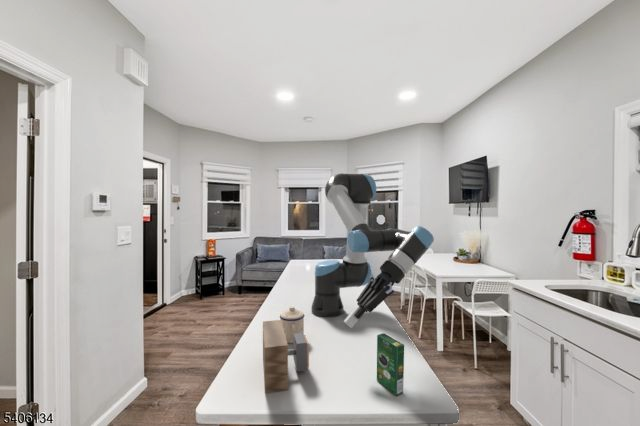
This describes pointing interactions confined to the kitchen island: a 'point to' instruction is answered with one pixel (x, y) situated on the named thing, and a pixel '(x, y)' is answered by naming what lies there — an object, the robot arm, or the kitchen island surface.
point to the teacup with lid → (292, 323)
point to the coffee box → (390, 363)
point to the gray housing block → (300, 352)
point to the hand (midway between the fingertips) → (347, 324)
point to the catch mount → (275, 356)
